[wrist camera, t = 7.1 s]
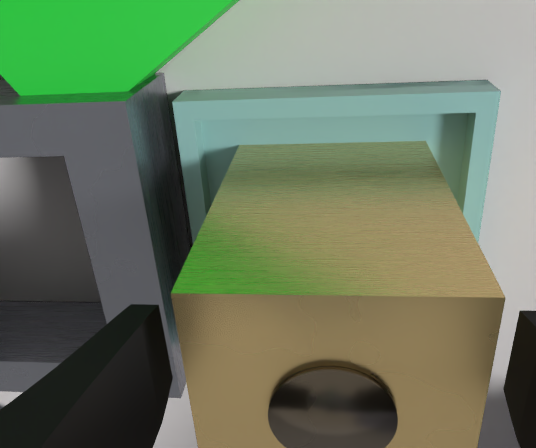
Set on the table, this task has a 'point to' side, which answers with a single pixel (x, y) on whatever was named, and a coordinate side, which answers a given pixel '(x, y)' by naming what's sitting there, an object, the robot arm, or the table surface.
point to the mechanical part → (95, 41)
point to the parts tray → (340, 130)
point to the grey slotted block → (100, 218)
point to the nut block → (336, 303)
